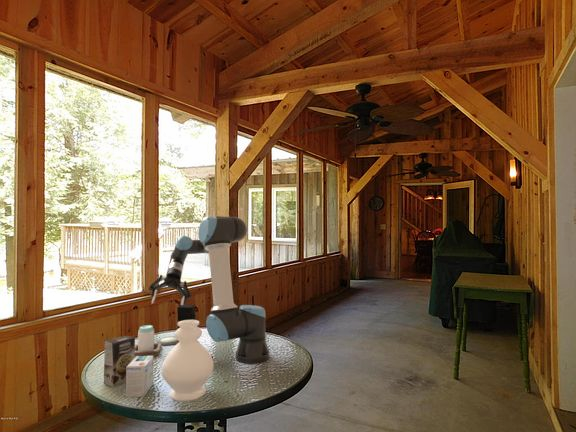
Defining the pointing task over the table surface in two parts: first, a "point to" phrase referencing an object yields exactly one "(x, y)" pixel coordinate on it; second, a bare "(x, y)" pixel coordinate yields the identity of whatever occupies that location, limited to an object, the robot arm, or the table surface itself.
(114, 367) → the coffee box
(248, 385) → the table surface
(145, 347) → the can
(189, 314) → the portable radio
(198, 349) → the decorative vase
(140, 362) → the light bulb box
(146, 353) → the frame
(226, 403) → the table surface
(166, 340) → the dock pad
